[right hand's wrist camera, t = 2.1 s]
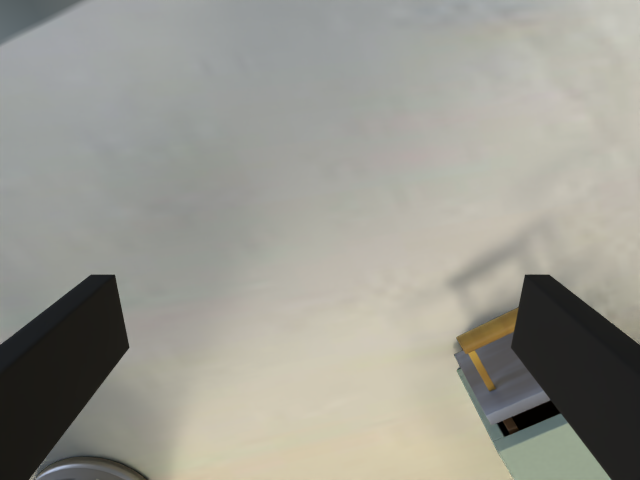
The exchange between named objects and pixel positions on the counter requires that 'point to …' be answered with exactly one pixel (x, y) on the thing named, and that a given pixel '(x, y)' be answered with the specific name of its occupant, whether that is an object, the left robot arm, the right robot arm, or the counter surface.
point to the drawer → (502, 376)
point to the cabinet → (541, 449)
